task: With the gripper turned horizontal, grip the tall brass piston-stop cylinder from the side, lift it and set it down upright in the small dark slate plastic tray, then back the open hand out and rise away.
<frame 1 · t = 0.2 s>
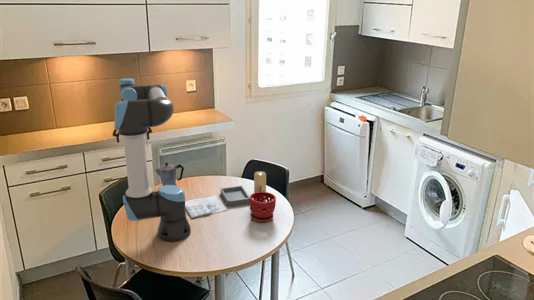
hand: (134, 146, 228), 28 cm above the table, tool pointing down, fingers open, 13 cm apart
slate tray: (235, 198, 234), on the table
moka pot: (171, 196, 236), on the table
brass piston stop: (259, 200, 231), on the table
bicycle print cloth: (205, 208, 224), on the table
plant pot: (262, 218, 214), on the table
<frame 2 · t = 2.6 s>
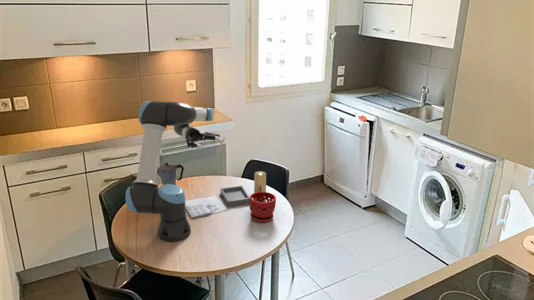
hand: (211, 144, 226), 30 cm above the table, tool horizontal, fingers open, 13 cm apart
nothing on the table moved.
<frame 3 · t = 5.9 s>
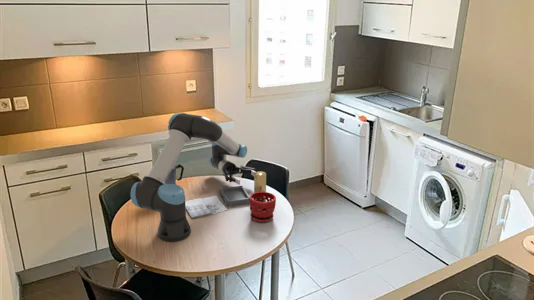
hand: (249, 179, 235), 9 cm above the table, tool horizontal, fingers open, 13 cm apart
nothing on the table moved.
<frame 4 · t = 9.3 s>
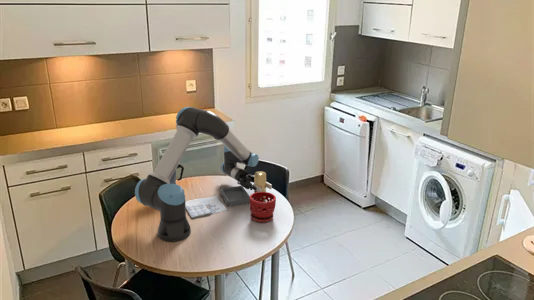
hand: (266, 188, 225), 9 cm above the table, tool horizontal, fingers closed on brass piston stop, 6 cm apart
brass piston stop: (259, 200, 231), on the table, touching gripper
everything else where it was.
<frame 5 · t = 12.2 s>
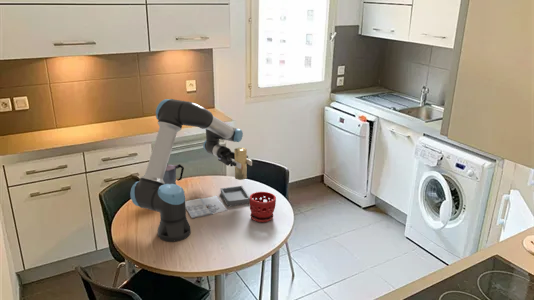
hand: (246, 164, 222), 22 cm above the table, tool horizontal, fingers closed on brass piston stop, 6 cm apart
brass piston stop: (240, 177, 229), point 13 cm above the table, touching gripper
everything else where it was.
when the fingers open (11 cm above the table, at t = 15.4 s): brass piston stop drops 1 cm, resting on slate tray.
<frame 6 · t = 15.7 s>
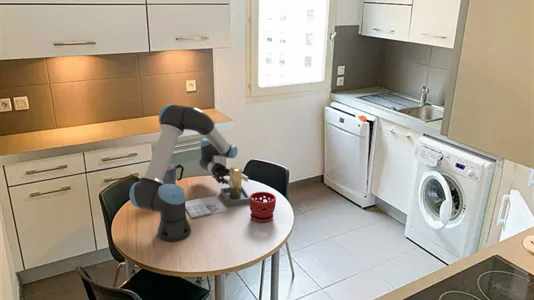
hand: (239, 181, 226), 11 cm above the table, tool horizontal, fingers open, 9 cm apart
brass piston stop: (235, 196, 233), point 1 cm above the table, touching slate tray
everything else where it was.
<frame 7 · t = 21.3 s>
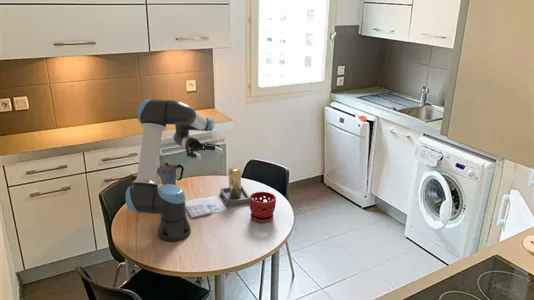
hand: (211, 154, 223), 26 cm above the table, tool horizontal, fingers open, 13 cm apart
nothing on the table moved.
at the end: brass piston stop 0.0 cm off-centre on the slate tray, point 1.0 cm above the slate tray's base; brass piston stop tilted 1°; the gripper is holding nothing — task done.
